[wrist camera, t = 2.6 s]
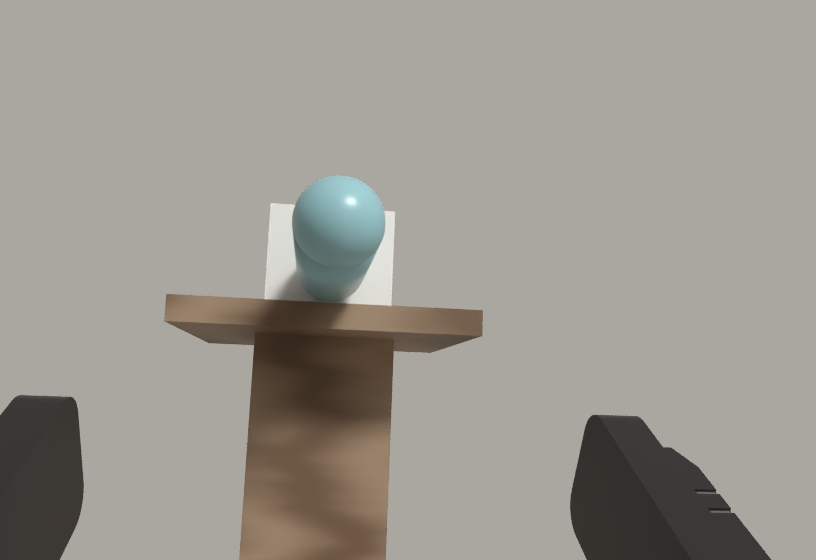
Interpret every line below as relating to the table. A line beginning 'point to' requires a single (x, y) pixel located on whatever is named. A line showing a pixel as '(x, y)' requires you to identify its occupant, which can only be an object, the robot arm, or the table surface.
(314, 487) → the stand
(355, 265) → the white block with ball
